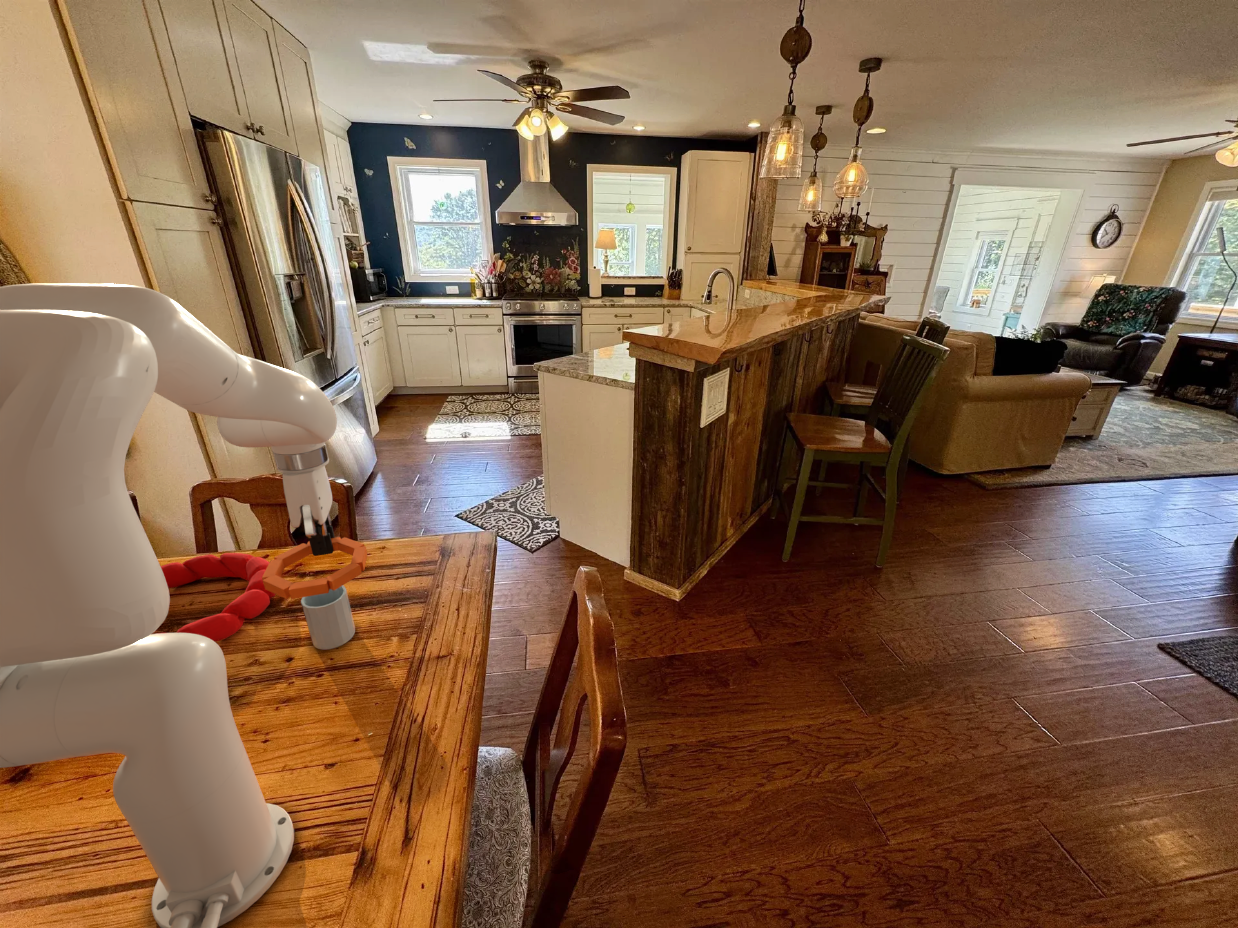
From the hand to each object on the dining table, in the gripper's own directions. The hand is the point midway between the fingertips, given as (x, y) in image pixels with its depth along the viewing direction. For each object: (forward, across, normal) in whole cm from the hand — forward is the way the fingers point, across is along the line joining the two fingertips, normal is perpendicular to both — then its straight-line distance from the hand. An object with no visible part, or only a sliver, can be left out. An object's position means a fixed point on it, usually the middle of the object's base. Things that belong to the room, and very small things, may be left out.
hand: (324, 549), depth 89 cm
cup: (+14, +7, 0) cm, 16 cm away
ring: (0, +6, 0) cm, 6 cm away
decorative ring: (+15, -8, -27) cm, 32 cm away
